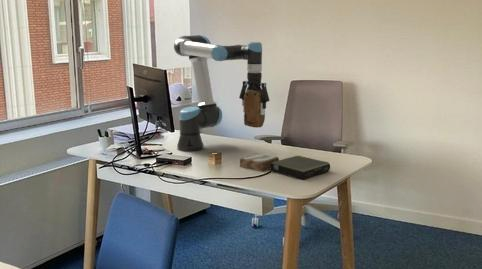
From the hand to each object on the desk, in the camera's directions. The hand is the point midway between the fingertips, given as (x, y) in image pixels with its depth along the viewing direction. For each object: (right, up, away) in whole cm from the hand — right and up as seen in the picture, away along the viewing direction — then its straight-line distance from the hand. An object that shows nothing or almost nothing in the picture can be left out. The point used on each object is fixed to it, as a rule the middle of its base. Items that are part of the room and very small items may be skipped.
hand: (253, 113), depth 282 cm
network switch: (+22, -30, -23) cm, 44 cm away
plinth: (+2, -27, -13) cm, 30 cm away
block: (0, -7, +2) cm, 7 cm away
